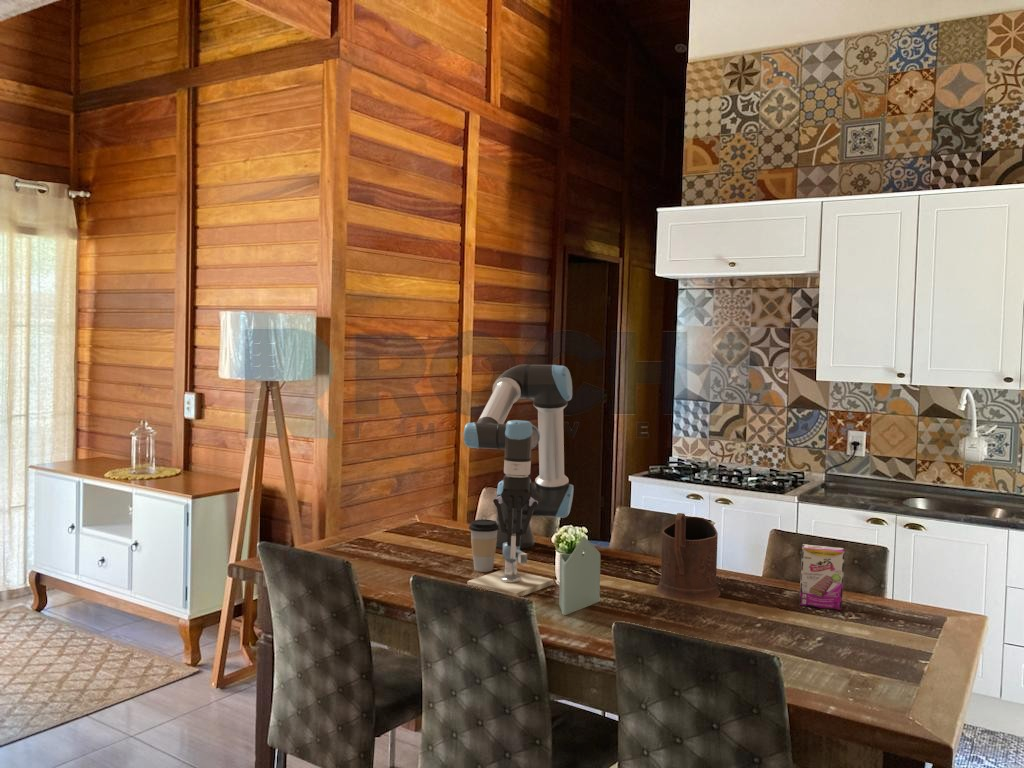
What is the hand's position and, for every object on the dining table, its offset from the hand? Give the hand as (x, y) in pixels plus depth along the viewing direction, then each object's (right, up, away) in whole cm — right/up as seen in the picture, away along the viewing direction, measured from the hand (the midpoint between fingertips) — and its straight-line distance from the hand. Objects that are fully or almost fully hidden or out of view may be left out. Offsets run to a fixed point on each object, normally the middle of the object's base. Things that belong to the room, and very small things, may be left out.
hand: (513, 557), depth 246 cm
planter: (+16, -11, -10) cm, 22 cm away
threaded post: (-1, -8, +8) cm, 12 cm away
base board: (-1, -10, +8) cm, 13 cm away
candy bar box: (+85, -12, -6) cm, 86 cm away
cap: (+1, -2, +4) cm, 4 cm away
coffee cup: (-9, -9, +25) cm, 28 cm away
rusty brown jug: (+50, -11, +3) cm, 51 cm away
